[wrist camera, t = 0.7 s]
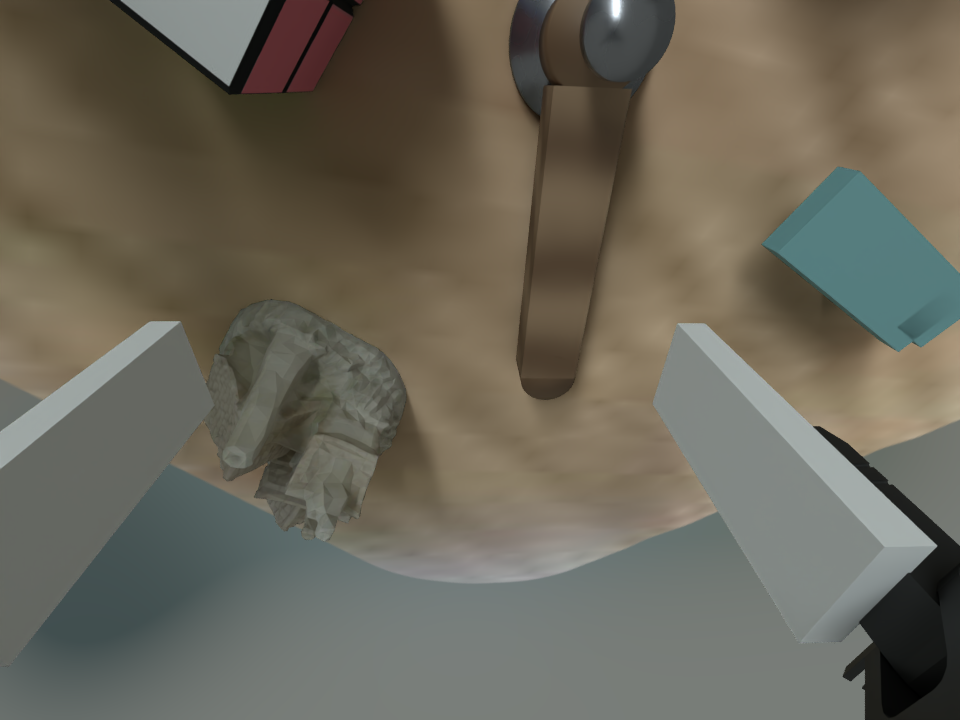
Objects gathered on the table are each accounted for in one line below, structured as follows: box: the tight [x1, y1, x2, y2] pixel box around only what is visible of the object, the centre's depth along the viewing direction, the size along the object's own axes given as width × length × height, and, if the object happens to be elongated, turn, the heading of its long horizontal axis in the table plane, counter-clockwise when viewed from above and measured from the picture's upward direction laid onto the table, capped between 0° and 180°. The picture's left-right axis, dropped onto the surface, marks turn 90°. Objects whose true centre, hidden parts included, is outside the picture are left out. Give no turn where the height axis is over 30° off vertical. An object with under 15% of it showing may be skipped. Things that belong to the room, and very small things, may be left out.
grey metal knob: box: [509, 0, 675, 116], centre depth 20 cm, size 8×8×8 cm
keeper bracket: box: [762, 167, 960, 352], centre depth 28 cm, size 14×5×6 cm, turn 58°
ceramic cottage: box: [204, 299, 406, 541], centre depth 31 cm, size 16×16×15 cm
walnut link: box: [516, 0, 632, 400], centre depth 27 cm, size 24×5×3 cm, turn 178°
